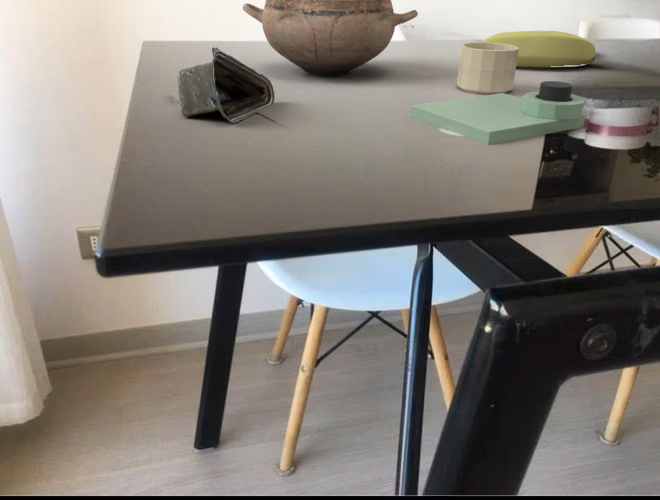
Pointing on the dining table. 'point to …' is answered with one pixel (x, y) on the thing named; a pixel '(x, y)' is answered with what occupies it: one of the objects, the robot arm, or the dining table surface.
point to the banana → (547, 48)
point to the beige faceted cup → (487, 67)
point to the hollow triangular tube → (223, 88)
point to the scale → (502, 116)
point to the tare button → (555, 91)
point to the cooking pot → (328, 31)
